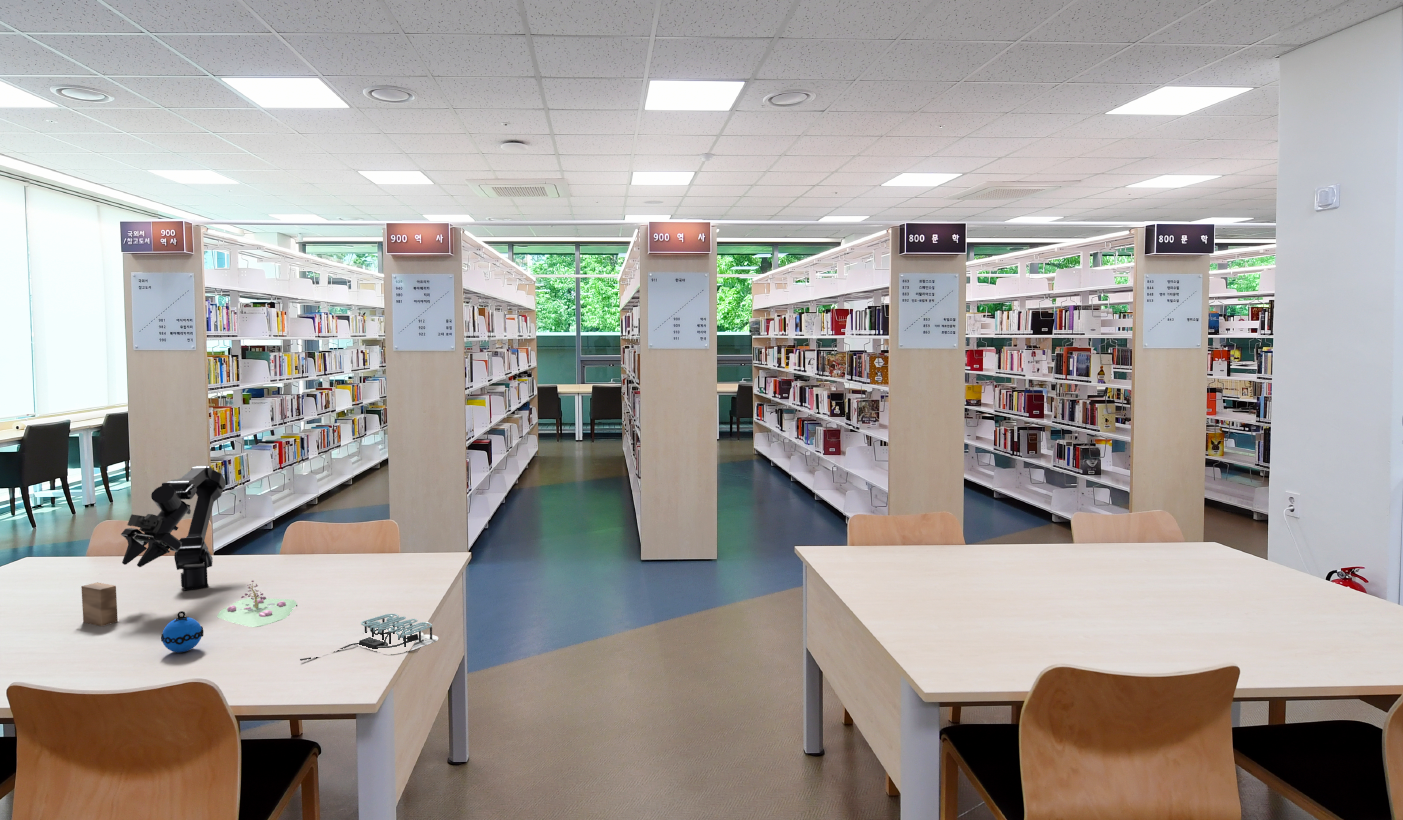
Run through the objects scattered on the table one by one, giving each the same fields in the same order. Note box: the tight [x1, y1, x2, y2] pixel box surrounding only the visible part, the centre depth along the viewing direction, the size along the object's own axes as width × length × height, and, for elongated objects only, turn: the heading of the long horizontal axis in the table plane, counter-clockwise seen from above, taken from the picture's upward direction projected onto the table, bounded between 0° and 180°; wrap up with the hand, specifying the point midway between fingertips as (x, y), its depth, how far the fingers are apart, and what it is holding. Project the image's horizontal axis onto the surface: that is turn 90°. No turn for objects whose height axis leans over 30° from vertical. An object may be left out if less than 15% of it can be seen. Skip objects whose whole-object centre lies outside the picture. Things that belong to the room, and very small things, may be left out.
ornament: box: [160, 610, 204, 654], centre depth 198 cm, size 9×9×10 cm
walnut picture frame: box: [80, 582, 119, 627], centre depth 220 cm, size 4×8×10 cm, turn 67°
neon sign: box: [299, 613, 439, 661], centre depth 201 cm, size 21×4×29 cm
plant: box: [216, 580, 298, 628], centre depth 228 cm, size 25×21×9 cm
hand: (130, 565), depth 227 cm, fingers open, 6 cm apart
